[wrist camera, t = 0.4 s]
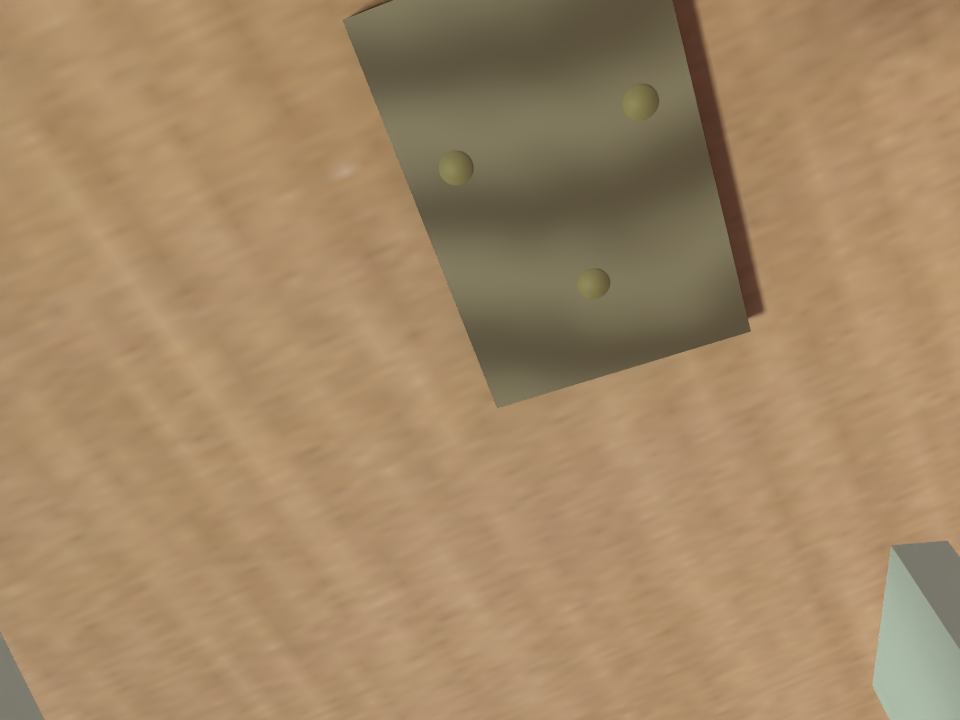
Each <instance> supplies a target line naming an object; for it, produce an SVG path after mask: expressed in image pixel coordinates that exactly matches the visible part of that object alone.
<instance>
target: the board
mask: <svg viewBox="0 0 960 720" xmlns="http://www.w3.org/2000/svg"><path fill="white" fill-rule="evenodd" d="M343 22H344V25H345V27H346V30H347V32H348V35H349V37H350V40H351V42H352V45H353V47H354V50H355V52H356V55H357V57H358V60H359V62H360V65H361V67H362V70H363V72H364V75H365V77H366V80H367V82H368V85H369V87H370V90H371V92H372V95H373V97H374V100H375V102H376V105H377V107H378V110H379V112H380V115H381V117H382V120H383V123H384V125H385V128H386V130H387V133H388V135H389V138H390V140H391V143H392V145H393V148H394V150H395V153H396V155H397V158H398V160H399V163H400V165H401V168H402V170H403V173H404V175H405V178H406V180H407V183H408V185H409V188H410V190H411V193H412V195H413V198H414V200H415V203H416V205H417V208H418V210H419V213H420V215H421V218H422V220H423V223H424V225H425V228H426V230H427V233H428V235H429V238H430V240H431V243H432V245H433V248H434V250H435V253H436V255H437V258H438V261H439V263H440V266H441V268H442V271H443V273H444V276H445V278H446V281H447V283H448V286H449V288H450V291H451V293H452V296H453V298H454V301H455V303H456V306H457V308H458V311H459V313H460V316H461V318H462V321H463V323H464V326H465V328H466V331H467V333H468V336H469V338H470V341H471V343H472V346H473V348H474V351H475V353H476V356H477V358H478V361H479V363H480V366H481V368H482V371H483V373H484V376H485V378H486V381H487V383H488V386H489V388H490V391H491V394H492V396H493V399H494V401H495V404H496V406H497V408H499V407H503V406H506V405H509V404H512V403H516V402H519V401H522V400H526V399H529V398H532V397H536V396H539V395H542V394H546V393H549V392H552V391H555V390H559V389H562V388H565V387H569V386H572V385H575V384H579V383H582V382H585V381H588V380H592V379H595V378H598V377H602V376H605V375H608V374H612V373H615V372H618V371H621V370H625V369H628V368H631V367H635V366H638V365H641V364H645V363H648V362H651V361H655V360H658V359H661V358H664V357H668V356H671V355H674V354H678V353H681V352H684V351H688V350H691V349H694V348H697V347H701V346H704V345H707V344H711V343H714V342H717V341H721V340H724V339H727V338H730V337H734V336H737V335H740V334H744V333H747V332H750V331H751V330H750V326H749V322H748V318H747V313H746V309H745V305H744V301H743V297H742V292H741V288H740V284H739V280H738V275H737V271H736V267H735V263H734V258H733V254H732V250H731V246H730V242H729V237H728V233H727V229H726V225H725V220H724V216H723V212H722V208H721V203H720V199H719V195H718V191H717V187H716V182H715V178H714V174H713V170H712V165H711V161H710V157H709V153H708V148H707V144H706V140H705V136H704V132H703V127H702V123H701V119H700V115H699V110H698V106H697V102H696V98H695V93H694V89H693V85H692V81H691V76H690V72H689V68H688V64H687V60H686V55H685V51H684V47H683V43H682V38H681V34H680V30H679V26H678V21H677V17H676V13H675V9H674V5H673V0H392V1H389V2H387V3H384V4H381V5H379V6H376V7H374V8H371V9H369V10H366V11H364V12H361V13H359V14H356V15H354V16H351V17H349V18H346V19H344V20H343Z"/></svg>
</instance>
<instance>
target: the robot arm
mask: <svg viewBox="0 0 960 720" xmlns="http://www.w3.org/2000/svg"><path fill="white" fill-rule="evenodd" d="M872 686H873V688H874V690H875V692H876V694H877V696H878V698H879V700H880V702H881V704H882V706H883V708H884V710H885V711H886V713H887V715H888V717H889V719H890V720H960V557H959V555H958V554H957V553H956V551H955V550H954V549H953V547H952V546H951V545H950V544H949V542H948V541H939V542H927V543H915V544H902V545H891V550H890V558H889V565H888V573H887V580H886V588H885V595H884V603H883V610H882V618H881V625H880V633H879V640H878V648H877V655H876V663H875V670H874V678H873V685H872ZM0 720H44V718H43V716H42V714H41V712H40V710H39V708H38V706H37V704H36V702H35V700H34V698H33V696H32V694H31V692H30V690H29V688H28V686H27V684H26V682H25V680H24V678H23V676H22V674H21V672H20V670H19V668H18V666H17V664H16V662H15V660H14V658H13V656H12V654H11V652H10V650H9V648H8V646H7V644H6V642H5V640H4V638H3V636H2V634H1V632H0Z"/></svg>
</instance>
